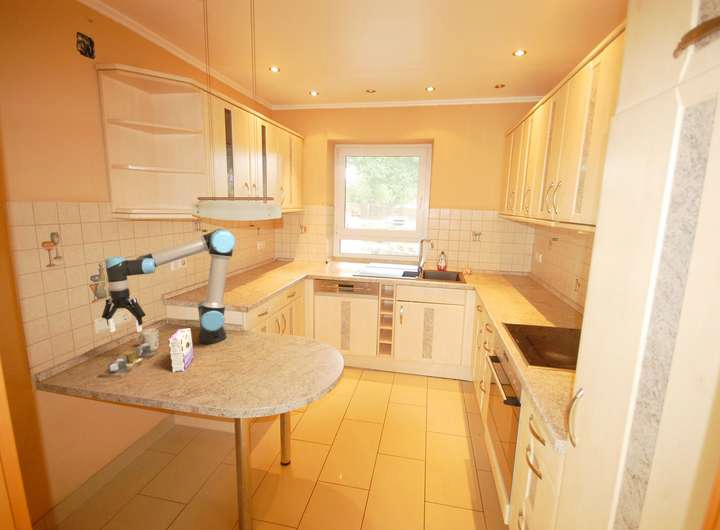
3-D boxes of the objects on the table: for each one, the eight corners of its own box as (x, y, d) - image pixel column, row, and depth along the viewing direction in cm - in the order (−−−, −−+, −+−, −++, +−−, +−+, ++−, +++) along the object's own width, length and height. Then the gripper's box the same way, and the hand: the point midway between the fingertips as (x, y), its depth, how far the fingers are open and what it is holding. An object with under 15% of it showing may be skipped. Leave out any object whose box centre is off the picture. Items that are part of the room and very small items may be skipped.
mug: (155, 351, 182) (152, 333, 180) (132, 351, 182) (129, 334, 180) (164, 345, 190) (161, 328, 188) (142, 345, 190) (139, 328, 189)
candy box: (182, 359, 171) (178, 328, 168) (194, 358, 172) (191, 327, 169) (171, 372, 157) (167, 339, 154) (185, 371, 158) (181, 337, 155)
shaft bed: (138, 353, 180) (136, 342, 179) (158, 353, 180) (156, 342, 179) (98, 377, 155) (96, 364, 154) (121, 377, 154) (119, 364, 153)
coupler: (130, 364, 164) (128, 354, 163) (120, 364, 164) (118, 354, 163) (139, 359, 170) (137, 349, 169) (129, 359, 170) (128, 349, 169)
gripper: (149, 286, 164) (155, 328, 168) (100, 287, 166) (107, 329, 169) (139, 290, 157) (145, 333, 160) (87, 291, 158) (95, 334, 162)
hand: (126, 331), depth 165 cm, fingers open, 13 cm apart
